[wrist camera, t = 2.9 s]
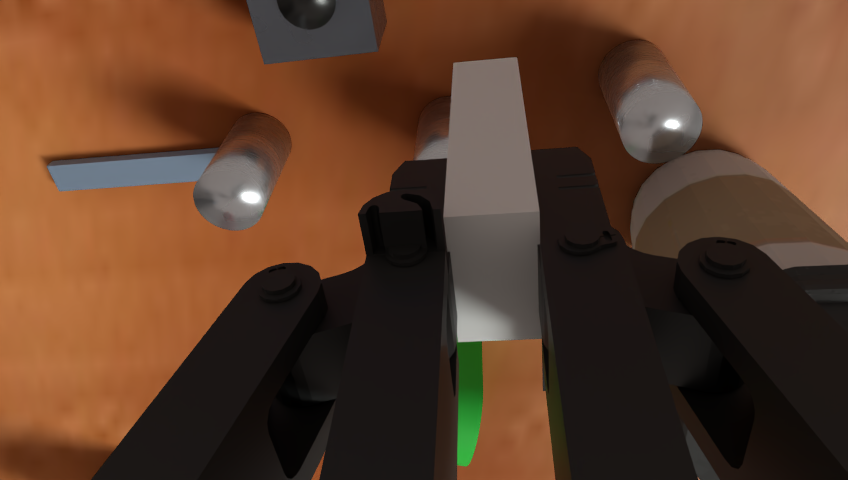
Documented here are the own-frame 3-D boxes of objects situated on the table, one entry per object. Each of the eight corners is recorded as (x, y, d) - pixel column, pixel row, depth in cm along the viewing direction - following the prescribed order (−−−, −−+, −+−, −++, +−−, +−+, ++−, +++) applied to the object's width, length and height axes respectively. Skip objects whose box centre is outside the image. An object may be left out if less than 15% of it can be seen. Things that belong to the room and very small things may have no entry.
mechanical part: (388, 308, 42) (374, 408, 36) (481, 325, 43) (484, 427, 36) (362, 427, 49) (346, 529, 43) (442, 440, 50) (438, 543, 43)
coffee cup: (554, 249, 38) (594, 476, 26) (667, 75, 32) (788, 268, 20) (722, 310, 40) (831, 547, 28) (860, 158, 34) (1076, 379, 22)
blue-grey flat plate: (64, 185, 38) (59, 191, 37) (-146, -239, 26) (-157, -239, 26) (234, 173, 37) (231, 178, 36) (91, -276, 25) (83, -276, 25)
